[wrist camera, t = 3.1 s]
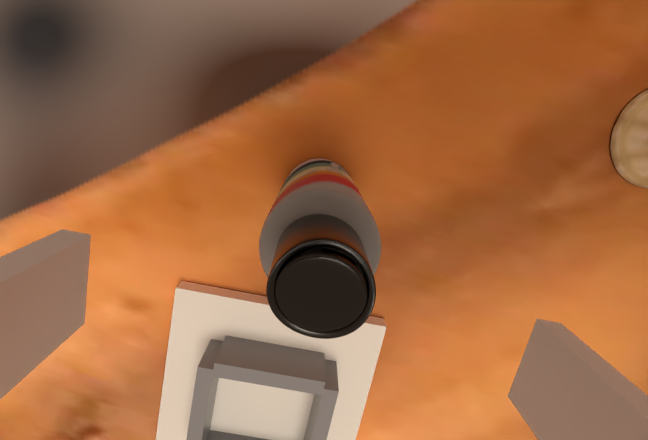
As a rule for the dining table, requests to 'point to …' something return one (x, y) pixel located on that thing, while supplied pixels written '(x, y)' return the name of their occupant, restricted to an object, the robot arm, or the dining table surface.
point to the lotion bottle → (320, 252)
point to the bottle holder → (260, 372)
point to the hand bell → (632, 141)
